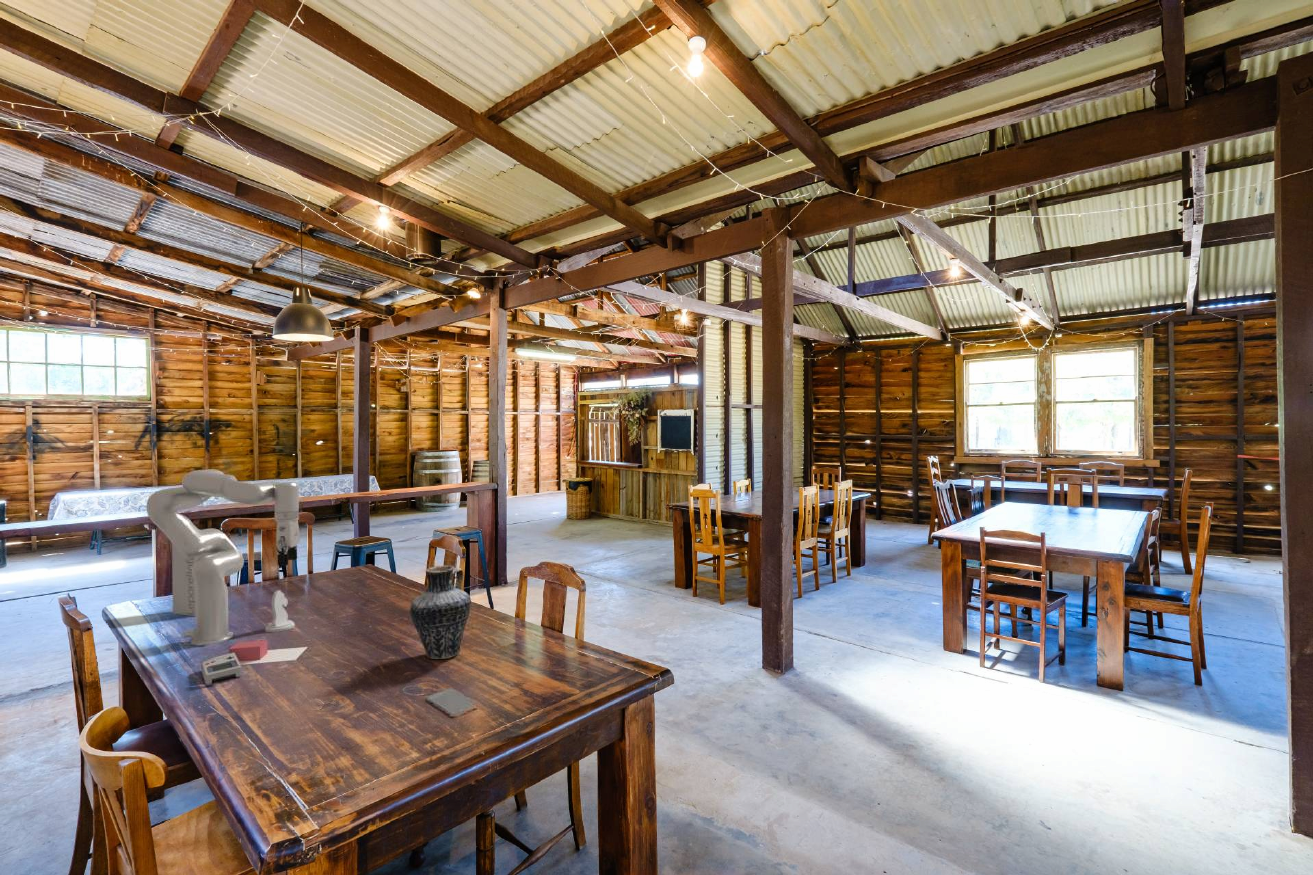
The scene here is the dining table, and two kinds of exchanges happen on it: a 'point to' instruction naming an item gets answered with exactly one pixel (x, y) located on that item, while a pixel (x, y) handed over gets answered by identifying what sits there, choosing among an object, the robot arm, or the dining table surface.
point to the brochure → (183, 583)
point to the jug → (441, 612)
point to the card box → (249, 650)
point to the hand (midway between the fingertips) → (287, 562)
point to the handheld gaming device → (221, 667)
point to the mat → (278, 655)
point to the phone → (451, 701)
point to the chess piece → (279, 614)
